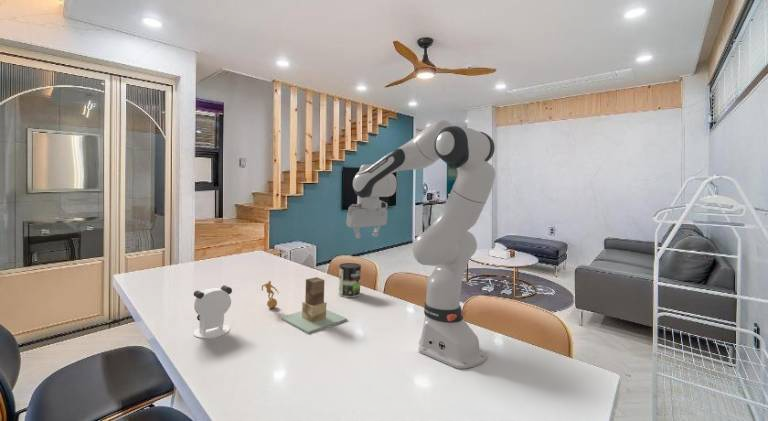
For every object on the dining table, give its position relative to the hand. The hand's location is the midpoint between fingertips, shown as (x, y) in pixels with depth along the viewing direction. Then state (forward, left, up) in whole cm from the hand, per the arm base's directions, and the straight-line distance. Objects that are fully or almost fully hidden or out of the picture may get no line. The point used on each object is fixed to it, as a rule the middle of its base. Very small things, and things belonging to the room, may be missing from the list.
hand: (366, 237), depth 145 cm
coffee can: (+22, -6, -31) cm, 39 cm away
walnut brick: (+2, +22, -24) cm, 33 cm away
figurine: (+22, +32, -31) cm, 50 cm away
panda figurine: (+11, +56, -31) cm, 65 cm away
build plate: (+2, +22, -31) cm, 38 cm away
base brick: (+2, +22, -30) cm, 37 cm away
